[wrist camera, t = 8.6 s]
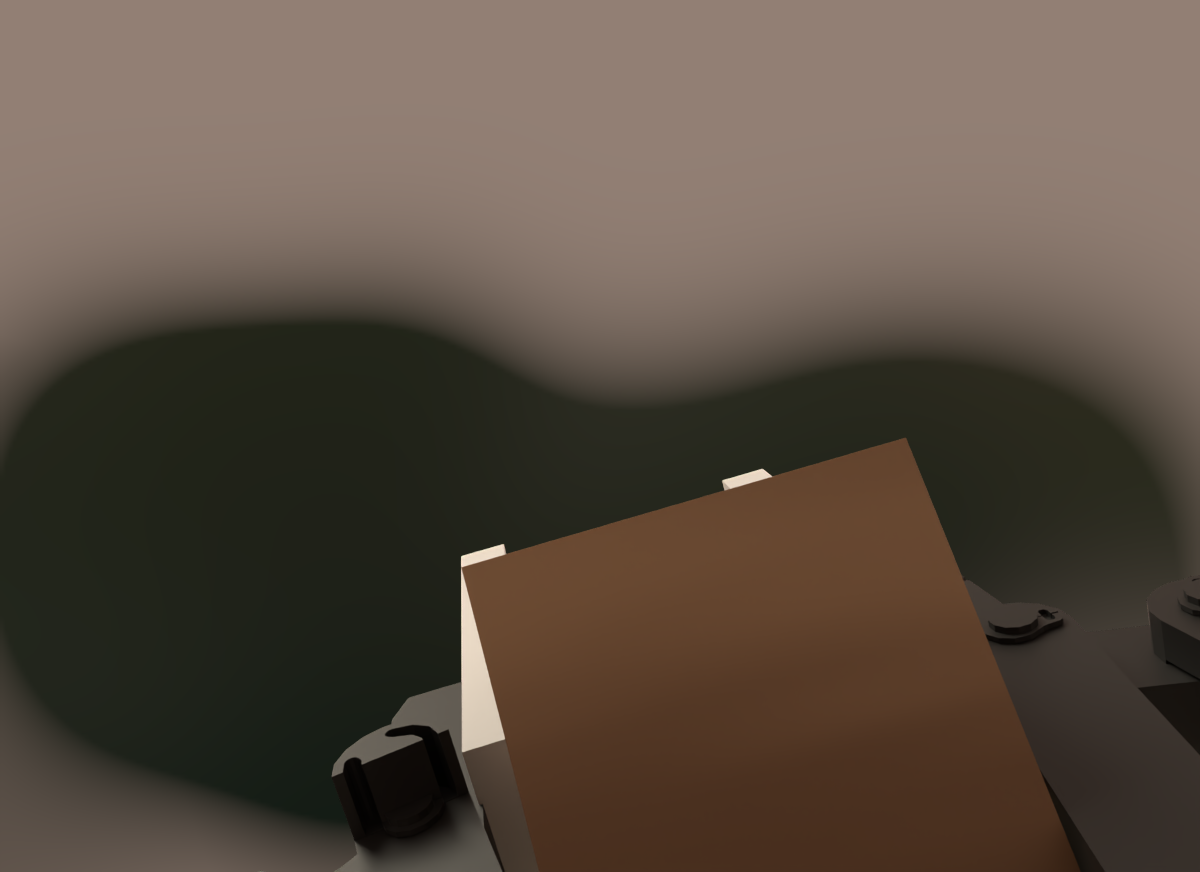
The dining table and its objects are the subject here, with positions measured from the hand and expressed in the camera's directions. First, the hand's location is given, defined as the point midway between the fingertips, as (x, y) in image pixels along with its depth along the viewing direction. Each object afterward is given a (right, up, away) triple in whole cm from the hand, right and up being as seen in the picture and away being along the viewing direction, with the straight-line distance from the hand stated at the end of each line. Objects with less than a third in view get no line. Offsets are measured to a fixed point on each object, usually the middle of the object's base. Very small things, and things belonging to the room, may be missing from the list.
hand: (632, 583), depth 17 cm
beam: (+1, -6, +4) cm, 8 cm away
